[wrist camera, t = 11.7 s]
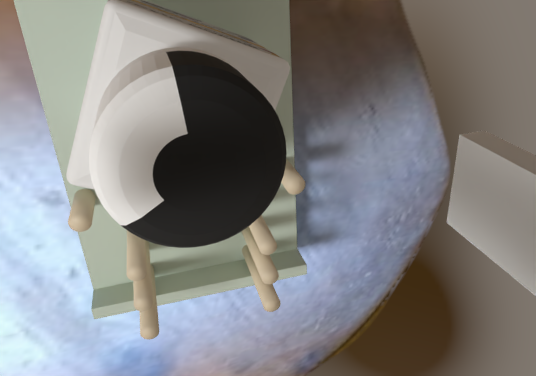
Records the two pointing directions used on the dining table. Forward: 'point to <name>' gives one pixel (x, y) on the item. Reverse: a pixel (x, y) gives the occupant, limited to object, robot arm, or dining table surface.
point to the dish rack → (95, 215)
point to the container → (179, 126)
